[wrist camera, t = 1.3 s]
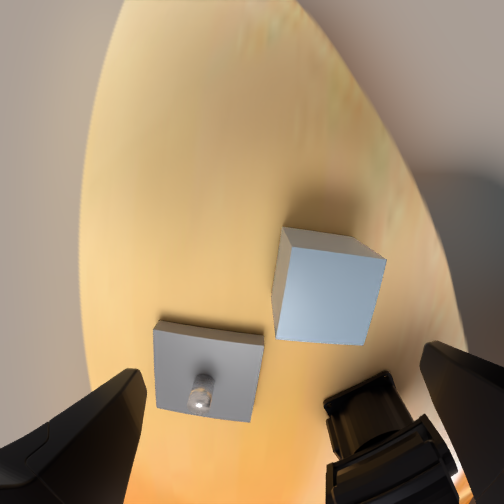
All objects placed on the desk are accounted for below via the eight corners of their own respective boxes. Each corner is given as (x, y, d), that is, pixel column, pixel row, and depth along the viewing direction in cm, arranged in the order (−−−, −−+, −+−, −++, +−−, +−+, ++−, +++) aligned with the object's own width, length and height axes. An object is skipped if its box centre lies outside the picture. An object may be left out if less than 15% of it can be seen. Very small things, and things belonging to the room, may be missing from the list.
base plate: (263, 335, 22) (265, 370, 18) (250, 410, 24) (249, 448, 20) (159, 320, 22) (139, 350, 18) (161, 397, 24) (147, 431, 20)
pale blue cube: (352, 236, 20) (386, 259, 14) (338, 303, 21) (363, 345, 16) (281, 226, 20) (291, 246, 14) (271, 296, 21) (275, 339, 16)
